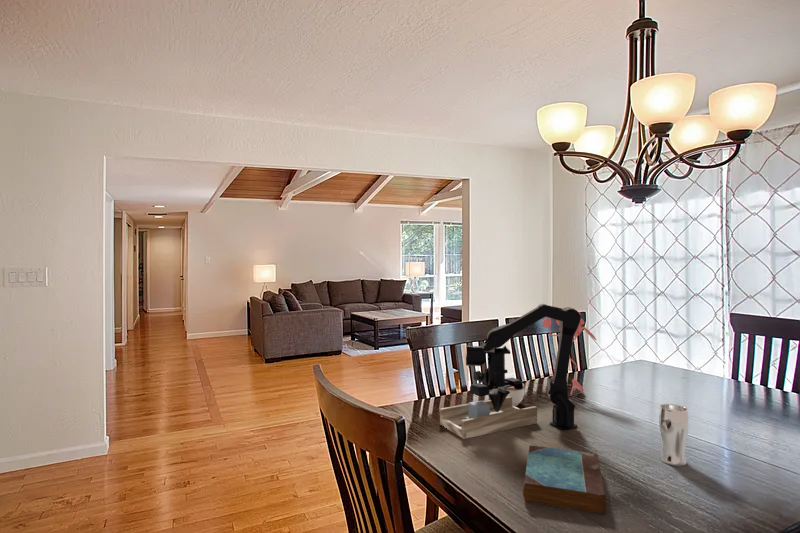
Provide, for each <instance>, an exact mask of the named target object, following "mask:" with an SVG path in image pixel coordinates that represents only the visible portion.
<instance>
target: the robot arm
mask: <svg viewBox="0 0 800 533" xmlns="http://www.w3.org/2000/svg"><path fill="white" fill-rule="evenodd" d="M573 308H574V307H571V306H569V307H568V306H567V307H562V308H561V307H557V306H552V305H548V304H545V303H541V304H538V306H537V307H535V308H533V309H532V310H529V311H528V312H526V313H525V314H523V315H521V316H519V317H518V318H516V319H513V320H512V321H510V322H509V323H506V324H503V325H499V326H497V327H493V328H491V329H490V330H489V331H488V332H487V336H486V339H485V341H484V342H483V343H482V344H481V345H479V346H478V345H466V354H465V366H468V367H469V366H470V367H473V366H474V367H483V365H485V364H486V362H487V367H485V369H484V372H481V371H480V370H476V371H473V375H472V376H473V380H474V381H475V382H477V381H478V383H473V384H471V385H470V387H469V393H470V394H473V395H475V396H477V397H486V396H488V397H489V400H491V402H492V404H493V407H494V410H495V412H499V410H500V408H501V406H502V404H503V402H504V400H505V399H506V397H507V395H508V394H510V392H509V391H507V387H513V386H514V388H515V389H516V390H519V389H523V384H524V383H523V382H522V380H521V379H518V378H515V377H508V378H506V374H508V369H506V363H505V362H506V358H505V355H507V354H508V355H510V354H511V350H510V349H509V348H508V347H507V345H505V344H506V343H507V342H509V341H510V339H512V338H513V337H514V336H515V335H516V334H518V333H520V332H521V331H523V330H525V329H526V328H528V327H530V326H532V325H533V324H535V323H537V322H539V321H540V320H543V318H544V319H545V318H548V317H549V318H550V319H551V320H552V319H553V320H559V325H558V326H559V329H560V330H559V335H560V336H559V340H558V347H557V351H556V358H555V364H554V369H555V370H554V369H553V375H552V376H553V377H552V376H551V377H550V378H549V377H547V378H546V386H545V388H544V389H545V391H546V393H547V396H548V398H549V400H550V401H551V403H552V404H553V405H552V421H551V422H549V425H552V426H553V427H556V428H558V429H560V430H563V431H565V430H570V429H574V428H578V425H577V424H575V408H576V405H575V403H574V402H573V401H572V398H570V396H569V388H568V386H569V385H567V384H568V380H567V379H568V378H567V376H568V372H569V365H570V360H571V359H570V358H571V353H572V348H573V347H572V346H573V342H574V341H573V339H574V334H575V332H576V331H577V328H578V326H579V323H580V320H581V319H582V317H581V315H580V314H579V312H580V311H578V310H576V308H574V309H573ZM572 341H573V342H572ZM502 346H503V347H502ZM486 355H487V356H486ZM483 383H484V384H483Z"/></svg>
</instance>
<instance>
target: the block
mask: <svg viewBox="0 0 800 533" xmlns="http://www.w3.org/2000/svg"><path fill="white" fill-rule="evenodd" d="M483 401H484V400H477V401H470V402H468V404H469V418H475V417H480V416H486V415H490V405H489V404H487V403H485V402H483Z"/></svg>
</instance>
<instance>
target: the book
mask: <svg viewBox="0 0 800 533" xmlns="http://www.w3.org/2000/svg"><path fill="white" fill-rule="evenodd" d="M600 467H601V466H600V461H599V456H598V453H597V452H596V453H589V452H585V451H579V450H571V449H570V450H569V449H563V448H556V447H547V446H545V447H544V446H538V445H529V448H528V454H527V460H526V468H525V474H524V481H523V489H522V496H523V500H524V502H529V503H535V504H540V505H547V506H552V507H559V508H566V509H572V510H579V511H587V512H591V513H592V512H593V513H598V514H603V515H604V516H605V515H606V507H607V498H606V497H607V496H606V493H605V486H604V482H603V477H602V473H601V472H602V471H601V468H600Z"/></svg>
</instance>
